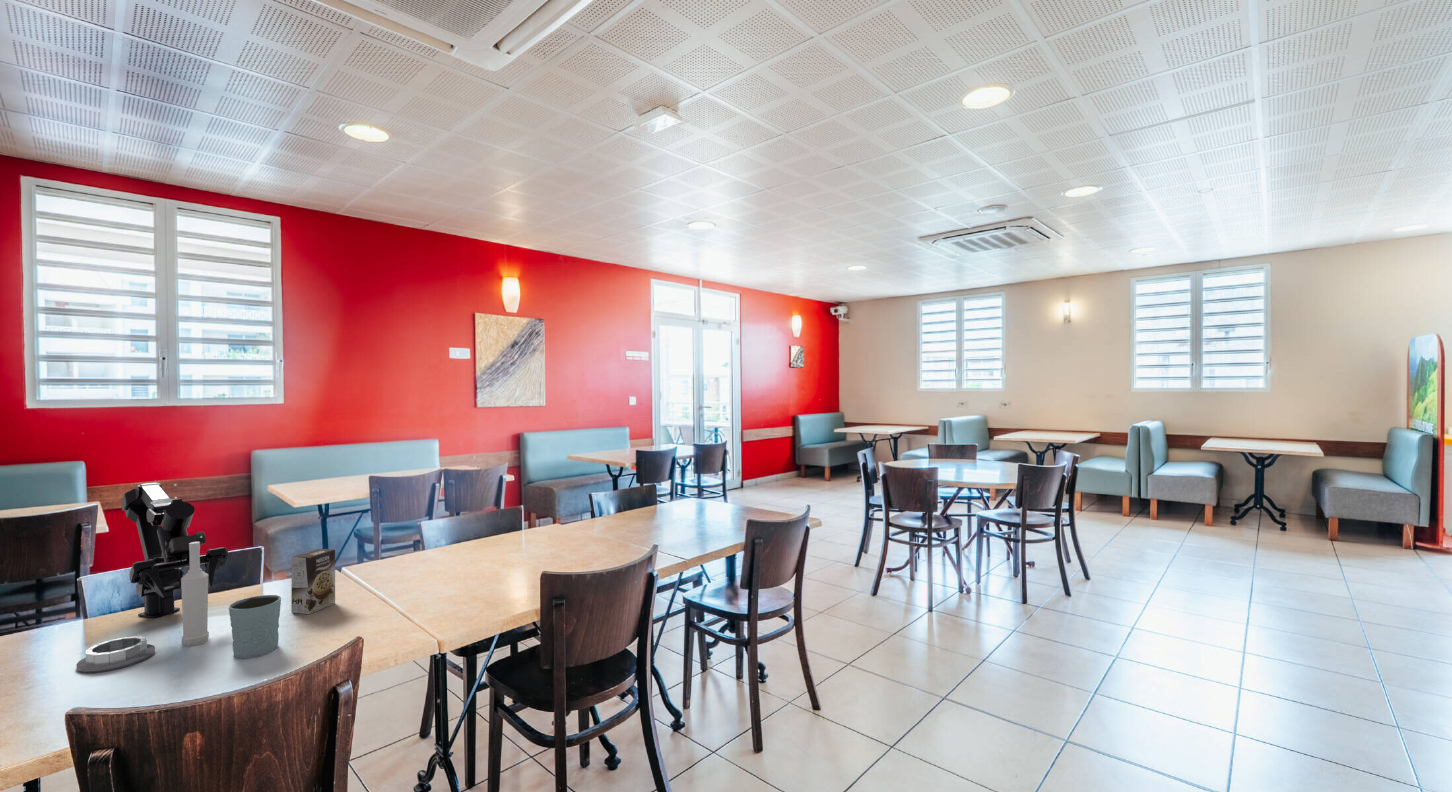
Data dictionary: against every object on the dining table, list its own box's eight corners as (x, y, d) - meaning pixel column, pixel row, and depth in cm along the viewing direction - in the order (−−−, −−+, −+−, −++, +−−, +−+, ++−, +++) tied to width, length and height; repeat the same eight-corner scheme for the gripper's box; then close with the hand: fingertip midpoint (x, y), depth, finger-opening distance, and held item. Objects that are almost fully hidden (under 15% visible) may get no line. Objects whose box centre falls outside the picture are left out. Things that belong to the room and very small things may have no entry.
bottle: (178, 648, 149) (177, 546, 148) (185, 640, 154) (184, 541, 153) (205, 644, 151) (204, 544, 151) (211, 636, 156) (210, 539, 155)
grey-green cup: (239, 663, 141) (239, 612, 141) (221, 653, 146) (221, 603, 146) (289, 647, 150) (289, 599, 149) (270, 638, 155) (270, 591, 155)
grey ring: (61, 669, 138) (60, 654, 137) (129, 645, 150) (129, 631, 150) (103, 676, 135) (103, 660, 134) (169, 651, 147) (169, 636, 147)
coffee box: (309, 614, 171) (309, 557, 170) (290, 612, 172) (290, 556, 172) (336, 603, 180) (336, 549, 179) (318, 601, 181) (317, 547, 181)
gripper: (131, 530, 151) (143, 583, 144) (225, 517, 166) (240, 564, 160) (124, 556, 155) (136, 609, 149) (216, 541, 171) (230, 588, 164)
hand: (188, 591), depth 155 cm, fingers open, 9 cm apart
